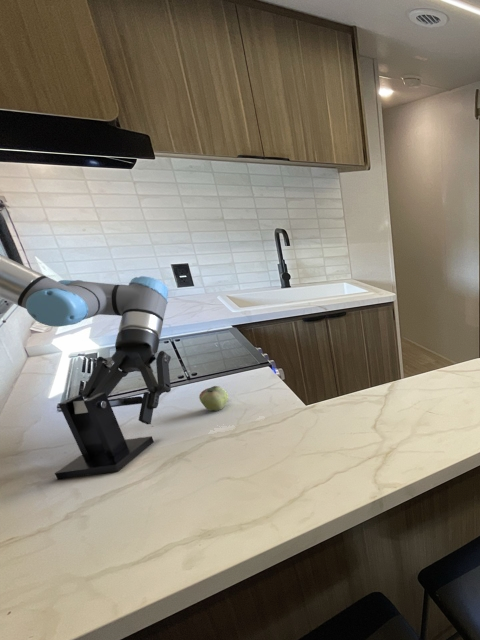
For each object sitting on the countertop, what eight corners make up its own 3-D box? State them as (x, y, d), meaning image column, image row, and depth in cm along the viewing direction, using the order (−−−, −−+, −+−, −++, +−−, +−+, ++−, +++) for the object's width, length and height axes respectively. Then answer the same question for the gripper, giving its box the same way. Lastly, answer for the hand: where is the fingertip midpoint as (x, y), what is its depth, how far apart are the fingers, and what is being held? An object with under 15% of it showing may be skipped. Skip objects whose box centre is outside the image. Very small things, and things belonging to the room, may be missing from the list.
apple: (230, 400, 110) (224, 380, 108) (231, 409, 104) (224, 388, 102) (204, 406, 107) (197, 385, 105) (203, 416, 101) (196, 394, 99)
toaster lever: (110, 408, 88) (108, 398, 88) (144, 404, 90) (142, 394, 89) (61, 415, 76) (59, 403, 76) (100, 411, 78) (98, 398, 77)
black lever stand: (102, 448, 87) (76, 390, 82) (154, 442, 89) (131, 384, 84) (57, 480, 76) (24, 414, 71) (118, 471, 78) (90, 406, 73)
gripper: (198, 339, 101) (185, 423, 92) (99, 348, 97) (76, 437, 88) (180, 322, 94) (165, 412, 85) (73, 331, 90) (45, 426, 81)
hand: (120, 425), depth 86 cm, fingers open, 9 cm apart
